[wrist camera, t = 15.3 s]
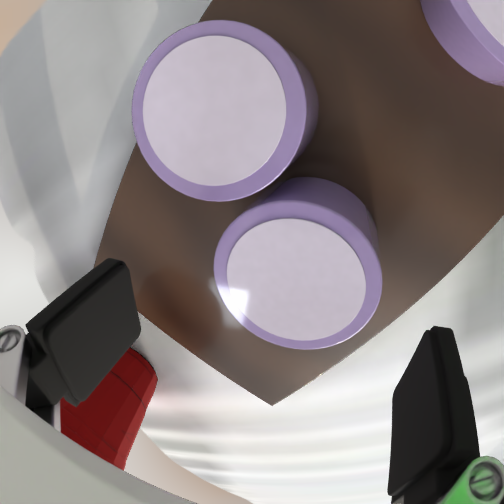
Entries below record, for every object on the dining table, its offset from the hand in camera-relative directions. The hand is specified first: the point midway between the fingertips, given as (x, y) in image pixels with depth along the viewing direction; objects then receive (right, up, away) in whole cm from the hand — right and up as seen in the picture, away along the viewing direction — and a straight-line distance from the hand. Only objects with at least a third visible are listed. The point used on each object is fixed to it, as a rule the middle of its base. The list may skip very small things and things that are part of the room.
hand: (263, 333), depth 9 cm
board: (+3, +7, +4) cm, 8 cm away
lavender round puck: (+2, +3, +5) cm, 6 cm away
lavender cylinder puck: (-1, +9, +3) cm, 9 cm away
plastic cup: (-11, -8, +17) cm, 22 cm away
